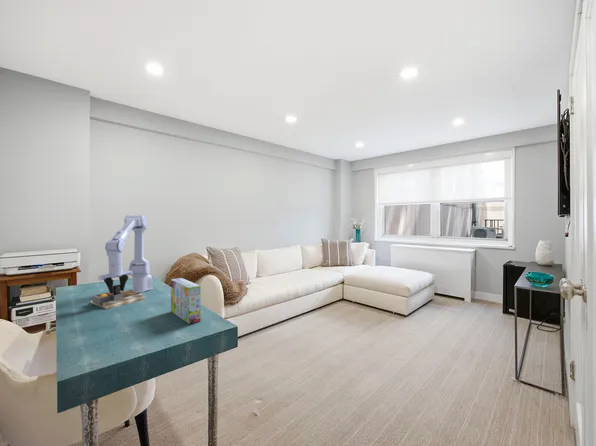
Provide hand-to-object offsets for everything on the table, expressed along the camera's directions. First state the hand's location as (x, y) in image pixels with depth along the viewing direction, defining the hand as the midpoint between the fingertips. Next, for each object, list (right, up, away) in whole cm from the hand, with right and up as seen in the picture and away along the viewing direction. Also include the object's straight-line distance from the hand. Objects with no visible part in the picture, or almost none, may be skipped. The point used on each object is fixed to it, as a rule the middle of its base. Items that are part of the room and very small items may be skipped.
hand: (116, 291), depth 139 cm
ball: (-7, -4, +2) cm, 8 cm away
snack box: (+41, -7, -17) cm, 44 cm away
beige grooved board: (-3, -6, +6) cm, 9 cm away
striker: (-3, -5, +2) cm, 6 cm away
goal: (-7, -5, +1) cm, 9 cm away
